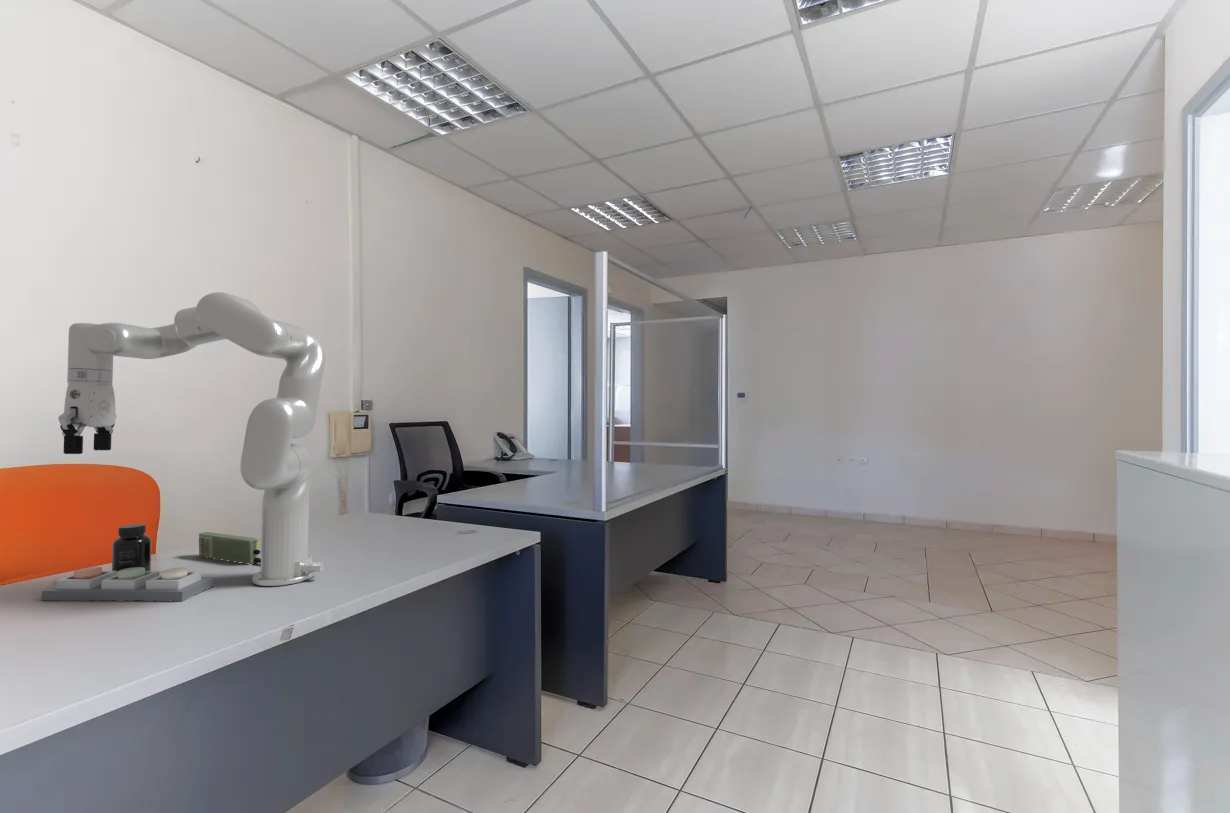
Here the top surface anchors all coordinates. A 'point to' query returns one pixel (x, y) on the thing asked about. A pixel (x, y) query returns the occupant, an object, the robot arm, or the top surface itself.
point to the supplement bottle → (131, 548)
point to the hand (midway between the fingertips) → (88, 451)
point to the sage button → (131, 573)
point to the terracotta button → (87, 573)
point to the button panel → (128, 587)
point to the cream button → (174, 573)
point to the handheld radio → (229, 547)
